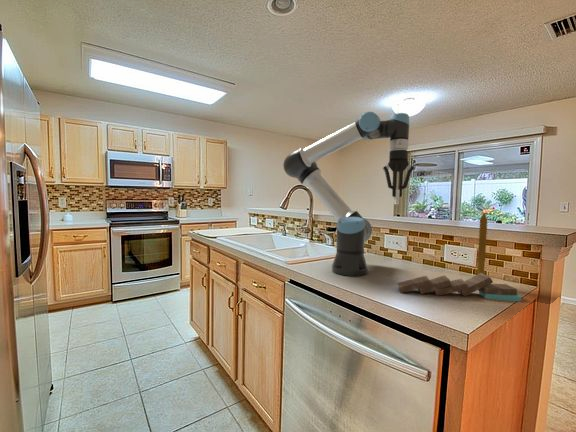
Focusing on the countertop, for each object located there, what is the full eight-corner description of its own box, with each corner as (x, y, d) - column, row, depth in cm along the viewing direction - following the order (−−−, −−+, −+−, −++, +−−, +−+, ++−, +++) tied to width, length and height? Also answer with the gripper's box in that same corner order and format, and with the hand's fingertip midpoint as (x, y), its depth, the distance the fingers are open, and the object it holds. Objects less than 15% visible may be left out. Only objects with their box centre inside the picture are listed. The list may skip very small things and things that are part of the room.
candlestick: (475, 281, 111) (490, 285, 106) (469, 283, 108) (484, 287, 104) (479, 211, 109) (494, 212, 105) (473, 212, 106) (489, 212, 102)
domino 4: (461, 291, 94) (490, 277, 92) (454, 286, 99) (481, 272, 97) (464, 296, 94) (493, 282, 92) (457, 291, 99) (484, 277, 97)
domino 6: (485, 294, 92) (521, 297, 90) (478, 289, 97) (512, 291, 95) (485, 300, 92) (520, 303, 90) (478, 294, 97) (512, 297, 95)
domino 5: (484, 287, 92) (517, 289, 91) (475, 283, 97) (506, 284, 97) (484, 294, 92) (516, 295, 92) (475, 288, 97) (505, 289, 97)
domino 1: (398, 287, 96) (429, 279, 94) (397, 283, 101) (426, 275, 99) (400, 293, 96) (431, 285, 94) (399, 288, 101) (428, 281, 99)
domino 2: (418, 288, 95) (449, 279, 93) (415, 284, 100) (444, 275, 98) (421, 294, 95) (451, 285, 93) (417, 289, 100) (446, 280, 98)
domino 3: (434, 290, 94) (467, 283, 92) (430, 285, 99) (460, 278, 97) (436, 295, 94) (468, 289, 92) (432, 290, 99) (462, 284, 97)
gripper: (384, 149, 122) (382, 204, 123) (416, 148, 119) (414, 204, 121) (381, 152, 129) (380, 204, 130) (412, 151, 127) (410, 204, 128)
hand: (396, 204), depth 126 cm, fingers closed
